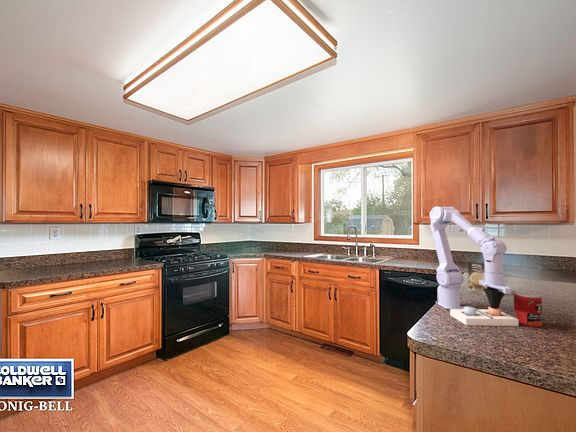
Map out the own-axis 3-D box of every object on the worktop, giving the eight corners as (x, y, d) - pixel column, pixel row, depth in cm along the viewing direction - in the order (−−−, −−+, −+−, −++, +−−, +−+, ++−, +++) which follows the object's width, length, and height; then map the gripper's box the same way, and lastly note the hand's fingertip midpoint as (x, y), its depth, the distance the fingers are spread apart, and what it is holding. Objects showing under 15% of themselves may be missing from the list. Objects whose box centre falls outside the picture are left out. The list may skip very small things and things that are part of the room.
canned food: (531, 328, 97) (530, 296, 97) (508, 320, 105) (508, 291, 105) (548, 326, 99) (547, 295, 99) (524, 319, 107) (524, 290, 107)
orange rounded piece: (485, 315, 107) (485, 306, 107) (496, 315, 107) (496, 306, 107) (492, 319, 103) (492, 309, 103) (504, 319, 103) (503, 309, 103)
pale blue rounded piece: (461, 315, 108) (461, 306, 108) (472, 315, 108) (472, 306, 108) (467, 319, 104) (467, 309, 104) (478, 319, 104) (478, 309, 104)
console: (450, 315, 111) (450, 307, 112) (497, 315, 111) (496, 308, 111) (466, 325, 100) (466, 316, 101) (518, 326, 100) (518, 317, 100)
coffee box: (467, 291, 148) (467, 261, 149) (474, 290, 152) (473, 260, 152) (487, 295, 141) (486, 263, 141) (493, 293, 144) (492, 262, 144)
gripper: (471, 268, 113) (472, 302, 113) (496, 275, 99) (496, 314, 98) (489, 268, 113) (490, 302, 112) (516, 275, 98) (517, 314, 98)
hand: (494, 308), depth 105 cm, fingers closed, pressing on orange rounded piece
